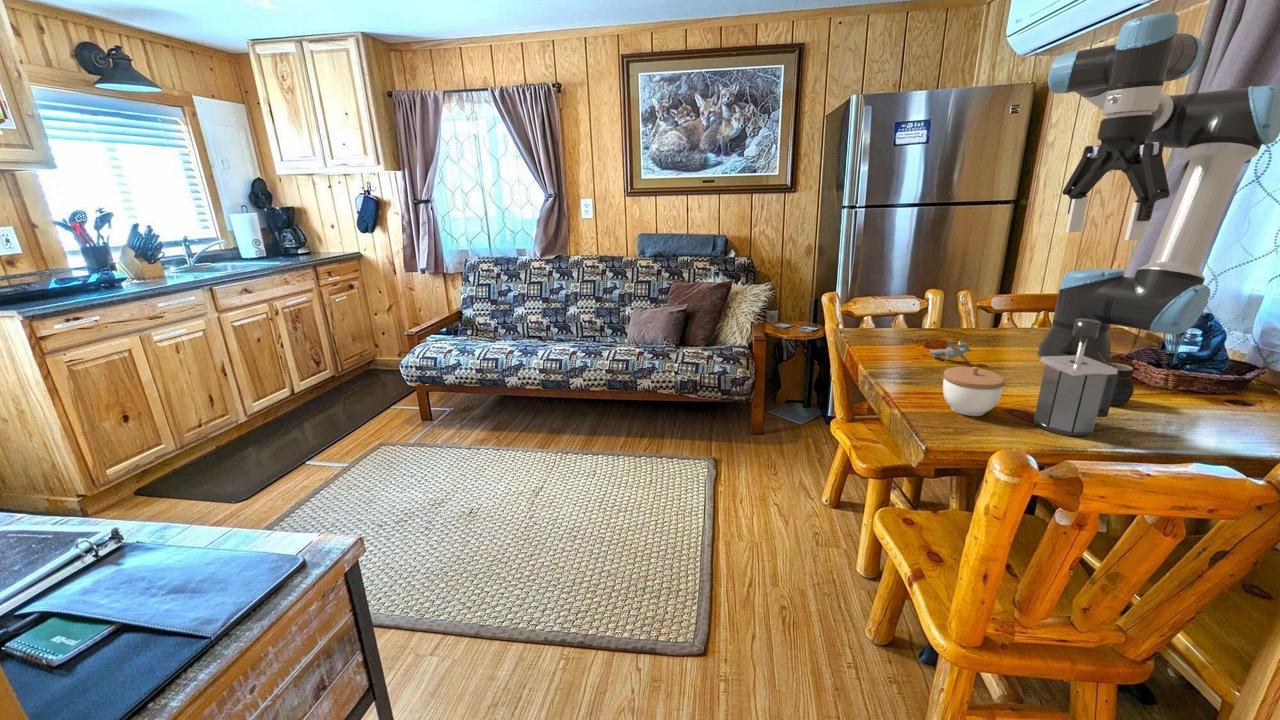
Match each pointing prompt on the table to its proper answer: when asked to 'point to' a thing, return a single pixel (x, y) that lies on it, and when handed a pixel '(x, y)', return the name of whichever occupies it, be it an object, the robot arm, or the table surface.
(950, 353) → the grey animal figurine
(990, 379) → the lidded jar
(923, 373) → the table surface
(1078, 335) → the plunger
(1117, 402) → the mate gourd
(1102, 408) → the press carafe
